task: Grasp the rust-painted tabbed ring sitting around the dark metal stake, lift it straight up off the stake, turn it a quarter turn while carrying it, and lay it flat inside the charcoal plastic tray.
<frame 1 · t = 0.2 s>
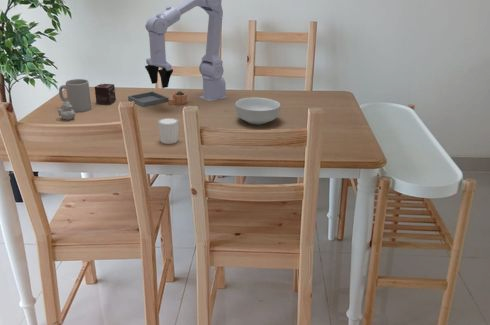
hand: (159, 85, 186), 10 cm above the table, tool pointing down, fingers open, 7 cm apart
box: (106, 103, 197), on the table
ring: (180, 102, 198), point 1 cm above the table, touching stake
mug: (76, 109, 189), on the table
grey stacked lumpy shape: (67, 119, 177), on the table
tray: (148, 102, 199), on the table
white ribbed cylinder: (169, 141, 160), on the table
cereal bowl: (257, 121, 180), on the table
stake: (180, 103, 198), on the table
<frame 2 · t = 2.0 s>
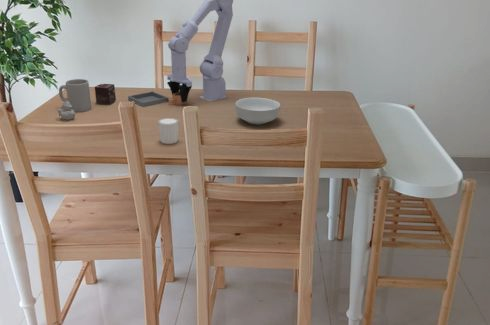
hand: (180, 100, 197), 2 cm above the table, tool pointing down, fingers closed on ring, 5 cm apart
ring: (180, 102, 198), point 1 cm above the table, touching gripper, stake
everything else where it was.
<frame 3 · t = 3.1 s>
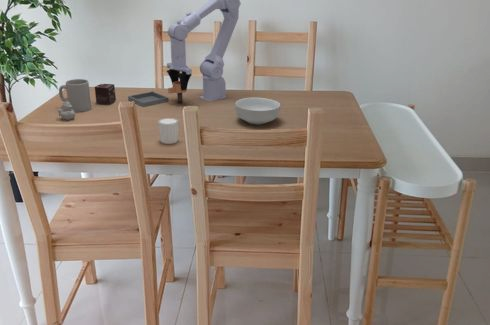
hand: (179, 88, 195), 7 cm above the table, tool pointing down, fingers closed on ring, 5 cm apart
ring: (179, 91, 196), point 5 cm above the table, touching gripper
everything else where it was.
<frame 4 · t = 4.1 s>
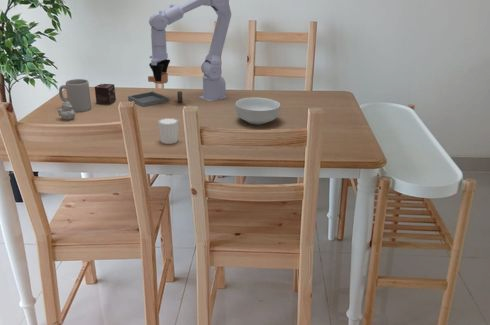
hand: (160, 79, 194), 10 cm above the table, tool pointing down, fingers closed on ring, 5 cm apart
ring: (160, 81, 195), point 9 cm above the table, touching gripper
everything else where it was.
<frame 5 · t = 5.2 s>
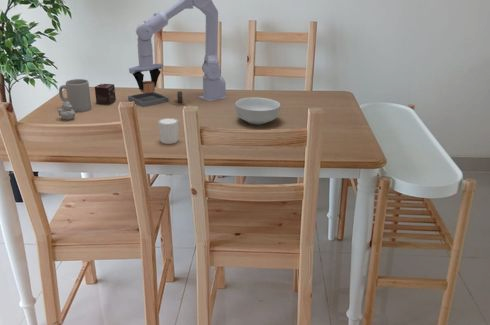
hand: (147, 88, 197), 6 cm above the table, tool pointing down, fingers closed on ring, 5 cm apart
ring: (147, 91, 197), point 5 cm above the table, touching gripper
everything else where it was.
when the fingers open (3 cm above the table, at t = 6.3 s): ring drops 1 cm, resting on tray.
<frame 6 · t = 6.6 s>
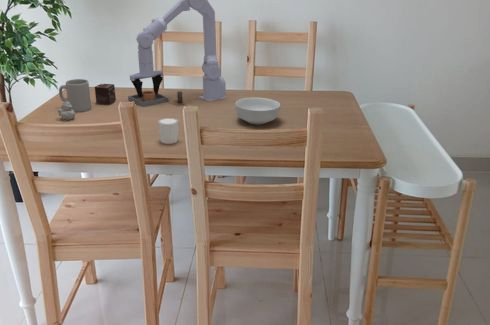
hand: (148, 95, 198), 3 cm above the table, tool pointing down, fingers open, 7 cm apart
ring: (148, 100, 199), point 1 cm above the table, touching tray
everything else where it was.
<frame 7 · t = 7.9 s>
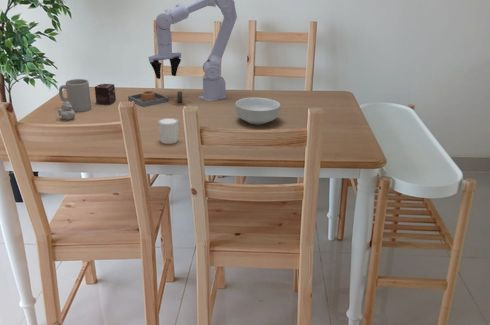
hand: (166, 77, 199), 10 cm above the table, tool pointing down, fingers open, 7 cm apart
nothing on the table moved.
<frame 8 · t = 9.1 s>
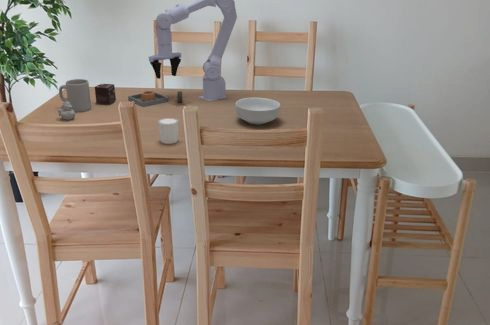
hand: (166, 76, 199), 10 cm above the table, tool pointing down, fingers open, 7 cm apart
nothing on the table moved.
at the end: ring inside the target area on the tray (0.1 cm from its centre), point 0.6 cm above the tray's base; ring tilted 0°; the gripper is holding nothing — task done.
